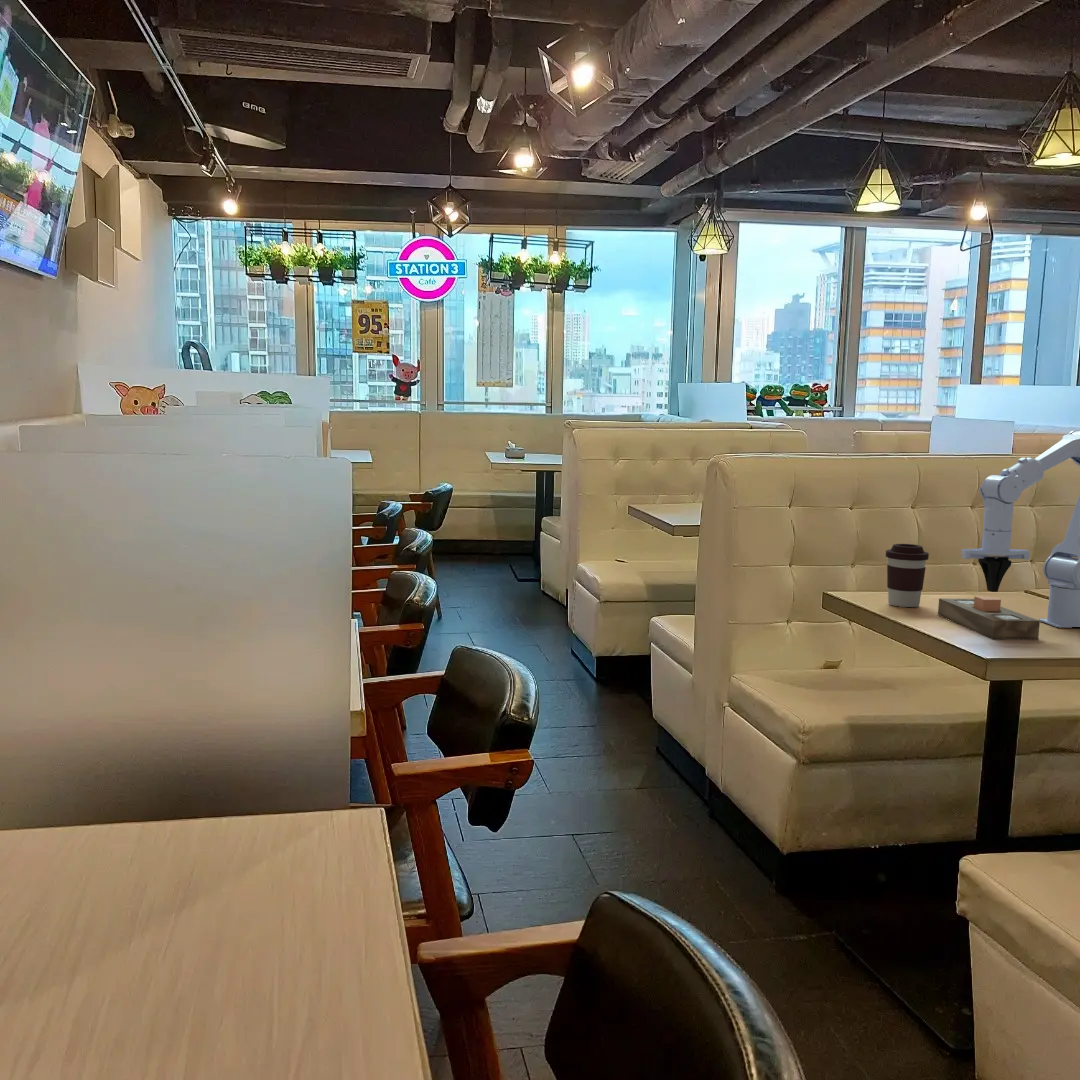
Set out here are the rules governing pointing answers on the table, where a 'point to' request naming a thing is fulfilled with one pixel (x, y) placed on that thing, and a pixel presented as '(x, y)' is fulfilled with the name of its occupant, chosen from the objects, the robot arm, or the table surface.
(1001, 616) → the pale grey square block
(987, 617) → the block
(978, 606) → the orange square block
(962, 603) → the steel plunger
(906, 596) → the coffee cup
